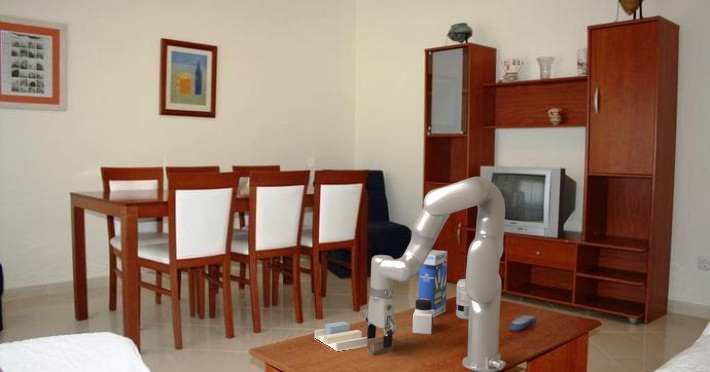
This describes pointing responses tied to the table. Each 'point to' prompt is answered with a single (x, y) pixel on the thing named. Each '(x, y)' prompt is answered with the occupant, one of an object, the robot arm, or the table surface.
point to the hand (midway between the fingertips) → (379, 342)
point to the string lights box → (434, 281)
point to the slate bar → (337, 327)
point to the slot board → (342, 339)
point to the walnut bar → (378, 346)
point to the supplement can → (462, 300)
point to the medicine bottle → (423, 317)
